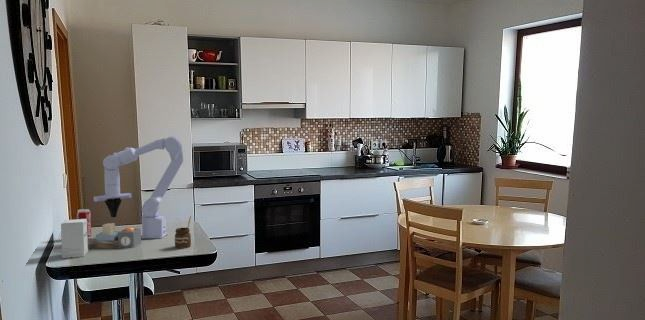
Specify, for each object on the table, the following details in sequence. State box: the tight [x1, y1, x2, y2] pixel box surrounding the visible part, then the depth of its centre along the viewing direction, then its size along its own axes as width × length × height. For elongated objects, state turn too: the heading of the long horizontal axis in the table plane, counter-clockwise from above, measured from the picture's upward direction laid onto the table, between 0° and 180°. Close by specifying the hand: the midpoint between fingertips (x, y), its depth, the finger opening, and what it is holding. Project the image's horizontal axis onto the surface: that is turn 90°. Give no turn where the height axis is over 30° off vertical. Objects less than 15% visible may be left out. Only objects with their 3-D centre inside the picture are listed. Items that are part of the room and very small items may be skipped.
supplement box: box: [60, 218, 89, 259], centre depth 167 cm, size 7×7×13 cm
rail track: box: [87, 232, 118, 249], centre depth 182 cm, size 17×8×4 cm, turn 90°
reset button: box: [123, 226, 135, 232], centre depth 181 cm, size 4×4×2 cm
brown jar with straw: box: [174, 215, 192, 249], centre depth 178 cm, size 6×6×12 cm
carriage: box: [95, 222, 120, 241], centre depth 181 cm, size 7×7×6 cm
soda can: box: [76, 208, 92, 238], centre depth 195 cm, size 5×5×12 cm
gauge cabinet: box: [117, 227, 142, 249], centre depth 181 cm, size 6×8×6 cm
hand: (113, 216), depth 192 cm, fingers closed
